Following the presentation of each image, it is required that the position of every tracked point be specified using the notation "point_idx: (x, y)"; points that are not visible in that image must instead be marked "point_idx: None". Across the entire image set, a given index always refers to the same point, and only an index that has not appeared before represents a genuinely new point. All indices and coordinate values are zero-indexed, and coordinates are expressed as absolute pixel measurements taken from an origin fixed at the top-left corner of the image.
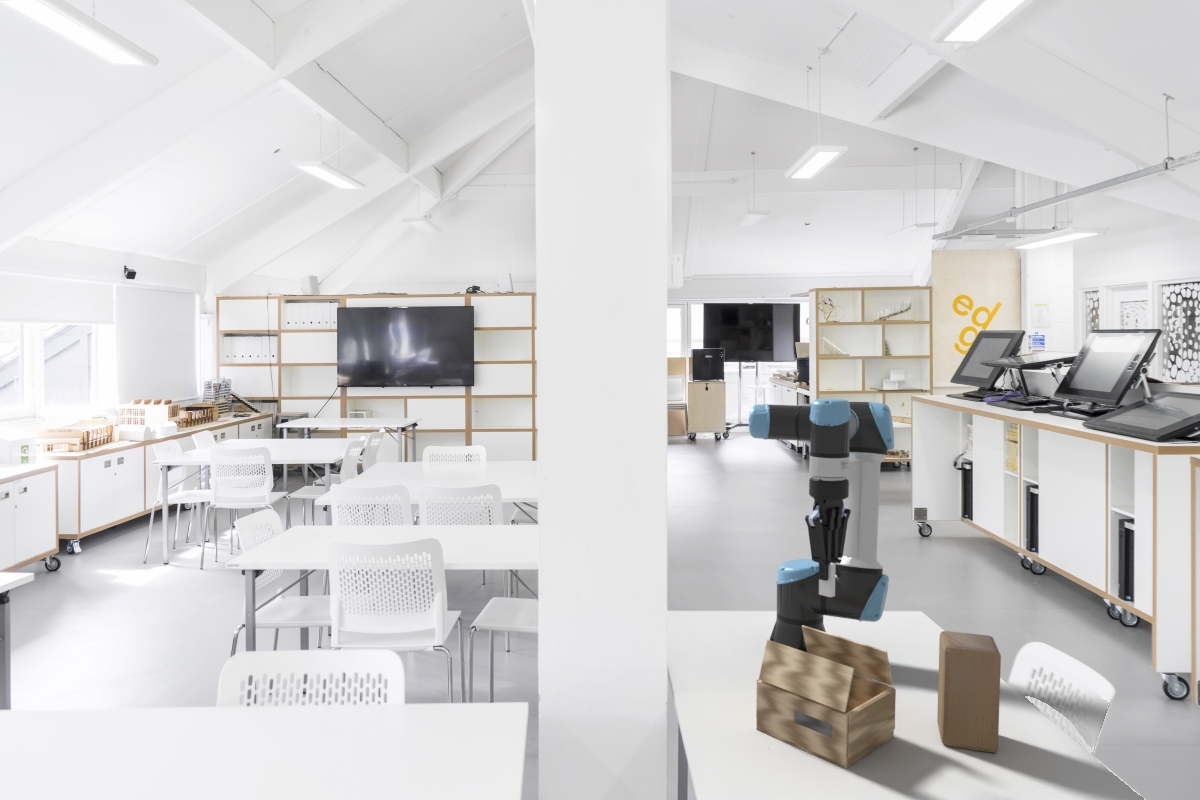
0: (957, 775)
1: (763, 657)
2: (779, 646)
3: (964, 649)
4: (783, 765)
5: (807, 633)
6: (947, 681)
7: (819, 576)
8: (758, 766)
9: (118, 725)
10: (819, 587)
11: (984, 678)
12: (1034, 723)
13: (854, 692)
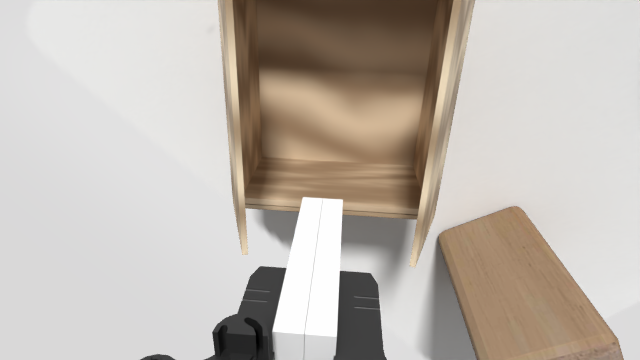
0: (364, 268)
1: None
2: (225, 19)
3: None
4: (186, 83)
5: None
6: (463, 316)
7: (250, 282)
8: (147, 54)
9: None
10: (298, 219)
11: None
12: (613, 299)
13: (433, 113)
